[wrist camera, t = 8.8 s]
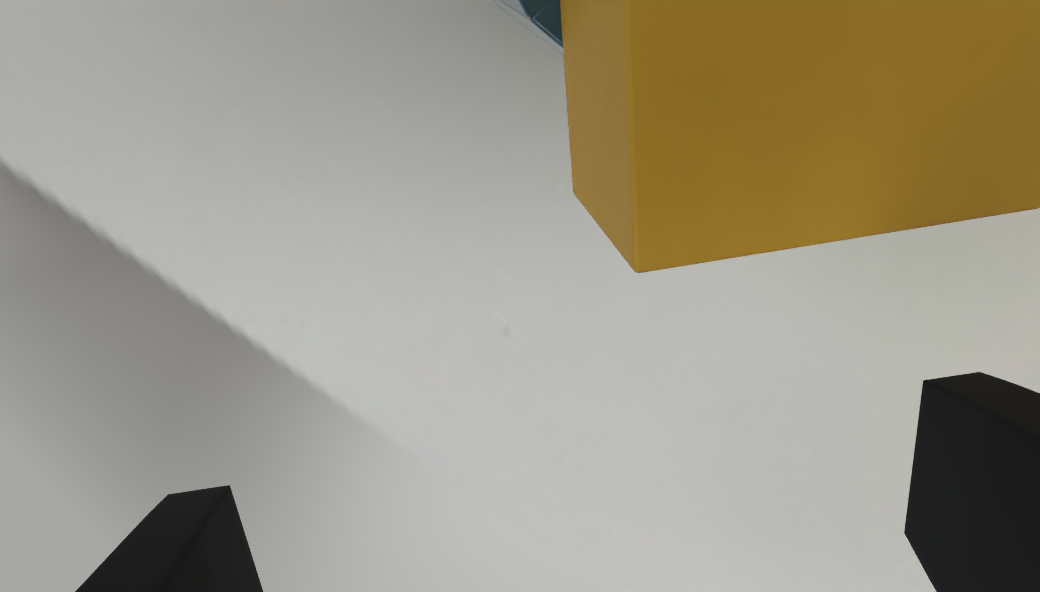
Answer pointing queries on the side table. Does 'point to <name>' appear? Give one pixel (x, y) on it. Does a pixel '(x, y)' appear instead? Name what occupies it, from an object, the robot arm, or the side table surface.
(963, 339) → the side table surface
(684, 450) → the side table surface
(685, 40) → the block
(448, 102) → the side table surface
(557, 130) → the side table surface
